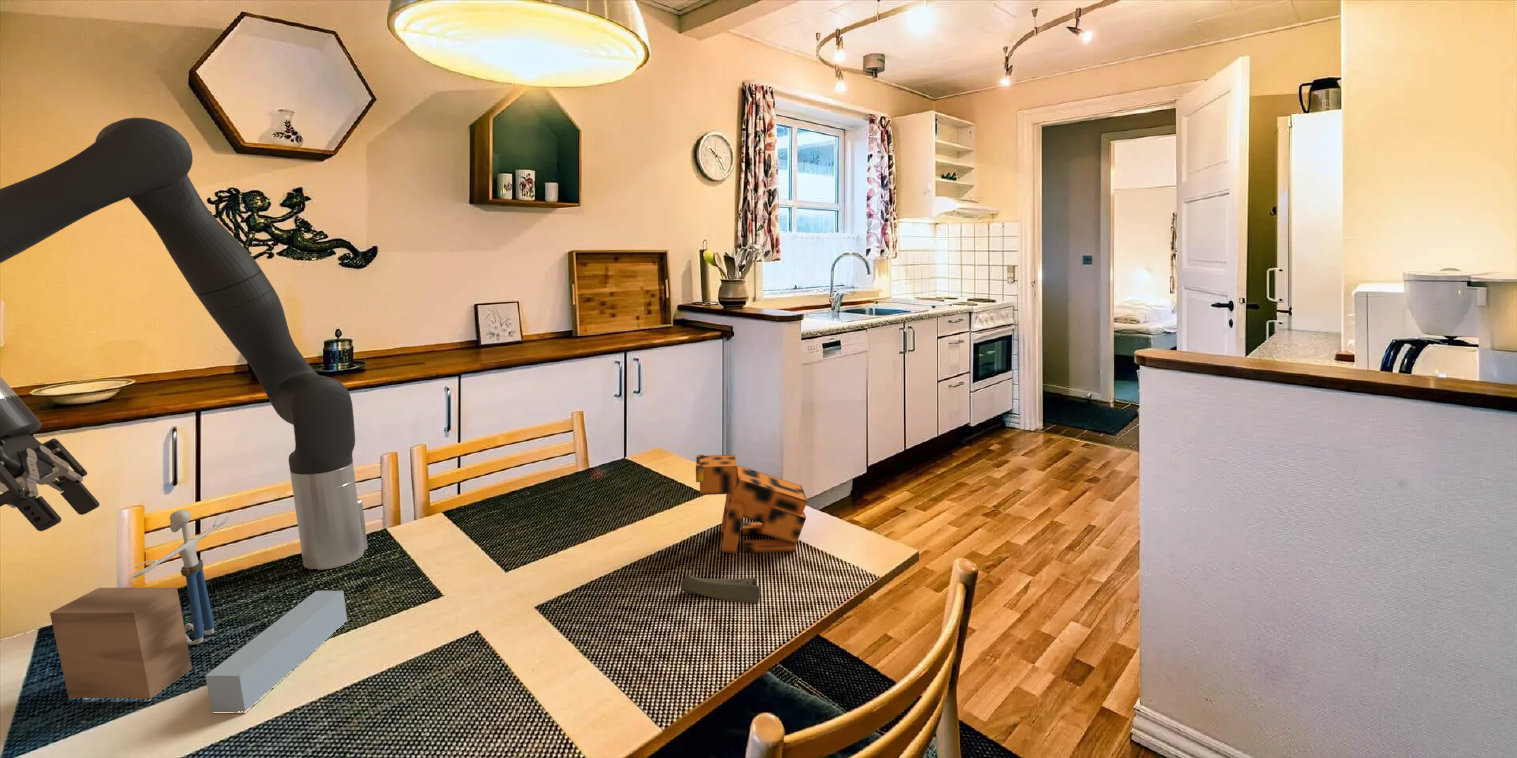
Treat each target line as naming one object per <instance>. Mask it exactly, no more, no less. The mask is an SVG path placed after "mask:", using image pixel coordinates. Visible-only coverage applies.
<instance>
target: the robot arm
mask: <svg viewBox="0 0 1517 758" xmlns="http://www.w3.org/2000/svg"><path fill="white" fill-rule="evenodd" d="M192 165H193V152H192V149H191V146H190V143H189V142H188V140H187V139H186V137H184V136H183V135H182V133H180V132H179V130H177V129H175V128H174V127H172V126H171V125H169V124H167V123H164V121H160V120H156V119H153V118H152V119H151V118H147V117H129V118H128V117H127V118H124V119H123V118H122V119H120V120H118V121H115V122H112V123H110V124H108V125H106V126H105V127H103V128H102V129H101V130H100V131H99V132H98V133H97V135H96V138H95V142H94V143H92V144H90V145H89V146H88V147H87V148H84V150H82V151H81V152H79V153H77V154H76V155H73V156H72V157H70V158H68V159H67V160H65V161H63V162H61V163H60V164H57V165H55V166H53V167H51V168H49V169H47V170H45V171H43V172H39V173H38V174H36V175H34V176H31V177H28V178H25V179H22V180H20V181H18V182H15V183H12V184H10V185H7V186H5V187H2V188H0V264H2V263H4V262H6V261H7V260H9V259H11V258H13V257H15V256H17V255H20V254H21V253H23V252H24V251H26V250H28V249H30V248H32V247H34V246H36V245H38V244H39V243H41V242H42V241H44V240H46V239H48V238H49V237H51V236H53V235H55V234H57V233H58V232H60V231H61V230H63V229H65V228H67V227H68V226H71V225H73V224H74V223H76V222H78V221H80V220H81V219H83V218H86V217H87V216H89V215H92V214H93V213H96V212H98V211H100V210H102V209H104V208H106V207H109V206H111V205H112V204H116V203H118V202H120V201H123V200H126V199H129V200H130V201H131V202H132V203H133V204H134V205H135V207H136V208H137V209H138V210H139V211H140V212H141V214H142V215H143V216H144V217H145V218H146V220H147V221H148V223H149V224H150V225H151V226H152V227H153V230H155V232H156V234H157V235H158V237H159V238H160V239H161V242H162V244H163V245H164V247H165V248H166V251H167V252H168V254H169V255H170V257H171V259H172V260H173V263H175V266H176V267H177V268H178V269H179V271H180V273H181V275H182V276H183V277H184V279H185V281H186V282H187V283H188V285H189V286H190V289H191V290H192V292H194V293H193V294H195V296H196V298H197V299H198V300H199V301H200V303H201V304H202V305H203V307H204V308H205V310H206V311H207V312H208V314H209V315H210V316H211V318H212V319H213V320H214V321H215V323H216V324H217V325H218V326H219V328H220V330H222V332H223V334H224V335H225V336H226V338H228V339H229V341H230V342H231V344H232V345H233V347H235V349H236V350H237V352H239V354H241V356H242V357H243V358H244V360H246V362H247V364H248V365H249V366H250V368H251V369H252V371H253V373H254V375H255V376H256V378H257V380H258V382H259V384H260V385H261V387H262V389H263V391H264V393H265V395H266V396H267V398H268V400H269V403H270V404H271V406H272V407H273V409H274V411H275V412H276V414H277V415H278V416H279V417H280V418H281V419H282V420H283V421H285V422H286V423H289V424H290V425H293V433H294V444H295V445H294V446H295V447H294V450H293V451H292V452H291V453H290V454H289V456H288V466H289V473H290V480H291V487H292V494H293V501H294V507H295V508H294V509H295V515H296V522H297V529H298V535H299V536H298V537H299V543H300V551H301V557H302V558H301V559H302V565H303V567H304V568H306V569H308V570H313V569H317V571H321V570H322V571H323V570H329V569H335V568H340V567H342V566H346V565H348V564H351V563H353V562H355V561H357V560H358V559H360V558H362V556H363V555H364V554H365V550H368V549H369V546H368V540H367V539H368V537H367V531H366V529H367V528H366V521H365V513H364V507H363V506H364V505H363V500H362V499H360V498H358V493H357V483H356V477H355V468H354V461H353V460H354V459H353V452H354V449H355V447H356V446H355V445H356V433H355V432H356V431H355V419H354V417H355V416H354V406H353V401H352V397H351V394H350V392H349V389H348V388H347V387H346V386H345V385H344V383H342V381H340V380H339V379H338V380H337V379H336V378H333V377H330V376H329V377H328V376H325V375H319V374H318V373H317V371H315V369H313V367H312V366H311V365H310V364H309V363H308V361H307V359H306V358H305V357H304V356H303V355H302V353H301V352H300V351H299V348H298V347H297V346H296V344H295V342H294V341H293V338H292V336H291V332H290V330H289V326H288V322H287V319H286V314H285V310H284V308H283V305H282V302H281V299H280V297H279V295H278V294H277V292H276V290H275V288H274V287H273V285H272V283H271V282H270V280H269V279H268V277H267V275H266V274H265V272H264V271H263V270H262V268H261V267H260V265H259V263H257V261H256V260H255V258H254V257H253V256H252V255H251V253H250V252H249V251H248V250H247V249H246V248H245V247H244V245H243V244H241V242H240V241H239V240H238V239H237V238H236V237H235V236H234V235H233V234H232V233H231V232H230V231H229V230H228V229H227V228H226V227H225V226H224V225H223V224H222V223H221V222H220V221H219V220H218V219H217V218H216V217H215V216H214V214H213V213H212V212H211V211H210V209H209V208H208V207H207V205H206V204H205V202H204V201H203V199H202V198H201V197H200V194H199V193H198V191H197V189H196V188H195V186H194V184H193V183H192V181H191V179H190V177H189V175H188V174H189V172H190V171H191V168H192ZM40 428H42V422H41V421H40V420H39V418H38V417H37V416H36V414H34V413H33V411H32V410H31V409H30V408H29V407H28V405H26V404H25V402H24V401H23V400H22V399H21V398H20V396H18V394H17V393H16V392H15V391H14V389H13V388H12V387H11V386H10V385H9V384H8V382H6V380H5V379H3V377H2V376H0V507H3V506H4V505H5V506H8V507H9V508H11V509H17V510H18V511H19V512H20V513H21V514H22V515H23V516H24V517H25V518H26V519H27V521H28V522H29V523H30V524H31V525H32V526H33V527H34V529H36V531H39V532H44V531H46V530H49V529H50V528H53V527H54V526H56V525H58V524H60V523H61V522H62V517H61V516H60V515H59V514H58V513H57V511H56V510H54V507H52V505H50V504H49V502H48V501H47V500H46V499H45V498H44V497H43V496H42V495H39V494H40V493H39V489H38V487H37V485H39V486H44V485H47V486H49V487H50V488H53V489H54V490H56V491H58V492H60V493H59V494H60V495H61V496H62V497H63V499H64V500H66V502H67V503H68V504H69V505H70V507H72V509H73V510H74V511H75V512H76V513H77V514H78V515H81V516H83V515H86V514H89V513H90V512H92V511H94V510H96V509H98V508H99V507H100V502H99V501H98V500H97V499H96V497H95V496H94V495H93V494H92V493H91V491H90V490H89V489H88V488H87V486H85V485H84V484H83V481H84V477H85V476H88V471H87V470H86V468H84V467H83V466H82V465H81V464H80V462H79V461H77V459H76V458H75V457H74V456H73V455H72V454H71V453H70V452H69V451H68V449H67V448H66V447H65V446H64V445H63V444H62V443H61V442H60V441H59V439H57V438H51V439H49V440H48V441H47V440H46V441H44V442H43V443H42V442H41V441H39V440H38V439H37V438H36V437H34V433H35V432H37V431H39V430H40ZM70 468H71V469H70Z"/></svg>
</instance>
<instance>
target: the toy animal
mask: <svg viewBox="0 0 1517 758" xmlns="http://www.w3.org/2000/svg"><path fill="white" fill-rule="evenodd" d="M695 458H696V459H695V460H696V463H695V483H699V495H700V496H708V495H709V496H711V495H713V496H714V495H717V496H718V495H725V502H724V508H723V515H722V519H721V525H720V534H721V535H722V540H721V553H727V554H728V553H729V554H735V555H736V554H737V552H738V545H739V539H740V534H741V529H742V536H748V535H749V536H751V535H765V536H769V537H772V538H766V539H765V538H764V539H761V538H760V539H744V542H743V543H744V545H743V546H744V552H745V554H750V553H751V554H753V553H754V554H755V553H757V554H758V553H759V554H760V553H782V552H797V543H798V540H799V538H800V535H801V533H802V530H803V528H804V525H805V522H806V520H807V516H806V514H805V512H804V511H805V508H806V506H807V504H808V499H807V496H806V494H805V492H804V488H803V485H800V484H797V483H795V482H791V481H788V480H785V479H783V478H778V477H775V476H772V475H769V474H766V473H762V472H760V471H756V470H755V469H754V470H753V469H751V468H747V467H743V466H740V465H738V464H737V459H736V454H723V455H722V454H721V455H719V454H718V455H717V454H715V455H704V454H696V457H695ZM743 519H748V520H750V521H753V522H743Z"/></svg>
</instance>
